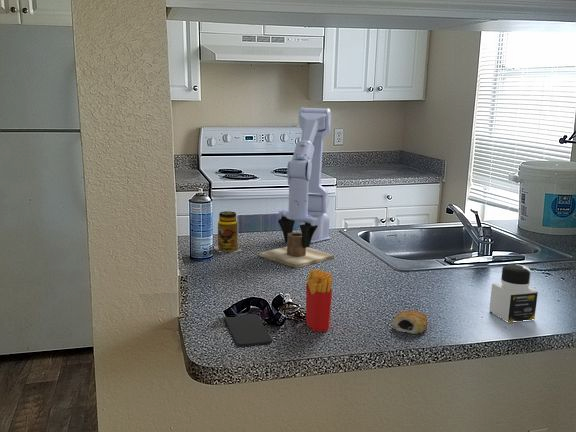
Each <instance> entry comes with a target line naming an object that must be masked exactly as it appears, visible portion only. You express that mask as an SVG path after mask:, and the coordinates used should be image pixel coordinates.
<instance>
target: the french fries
mask: <svg viewBox="0 0 576 432" xmlns="http://www.w3.org/2000/svg"><path fill="white" fill-rule="evenodd" d="M333 279H334V278H333V277H332V273H330V272H329V271H327V272H326V271H323V270H322V269H321V270H320V269H318V268H317V269H315V268H313V269H311V270H310V271H309V273H308V276H307V277H306V283H305V286H306V287H305V292H306V293H305V294H306V296H305V307H306V308H305V323H306V325H308V327H309V328H310V329H311V330H313V331H315V332H327V331H329V330H330V322H331V311H332V310H331V309H332V300H333V299H332V297H333V289H332V287H333V286H332V285H333Z"/></svg>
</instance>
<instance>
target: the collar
mask: <svg viewBox="0 0 576 432" xmlns="http://www.w3.org/2000/svg"><path fill="white" fill-rule="evenodd" d="M286 247H287V255H289V256H294V257H301V256H305V255H306V248H303V246H302V233H301V232H297V231H296V232H295V231H293V232H292V233H288V236H287V244H286Z"/></svg>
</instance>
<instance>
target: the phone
mask: <svg viewBox="0 0 576 432" xmlns="http://www.w3.org/2000/svg"><path fill="white" fill-rule="evenodd" d="M239 315H240V316H235V315H234V316H235V317H227V316H225V317H224V322H225V324H226V326H227V328H228V330H229V332H230V334H231V337H232V339H233V341H234V343H235V345H236V346H237V347H239V348H241V347H242V348H244V347H252V346H261V345H270V344H272V343H273V338H272V336H271V335H270V333H269V332H268V330H267V328H266V327H265V325H264V324H263V322H262V320H261V319H260V317H259V316H258V314H254V313H250V314H249V313H248V314H239Z"/></svg>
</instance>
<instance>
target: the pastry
mask: <svg viewBox="0 0 576 432" xmlns="http://www.w3.org/2000/svg"><path fill="white" fill-rule="evenodd" d="M427 326H428V317H427V315H426V313H424V312H421V311H419V310H415V309H413V310H412V309H411V310H410V309H409V310H402V311H399V313H397V314H396V315H395V316H394V319H393V322H391V327H392V328H393V330H394V329H397V330H399V331H403V332H402V333H404V332H407V333H406V334H410V333H411V335H419V334H418V333H420V334H423V333H422V332H425V330H426V328H427ZM399 331H398V332H399Z"/></svg>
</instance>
